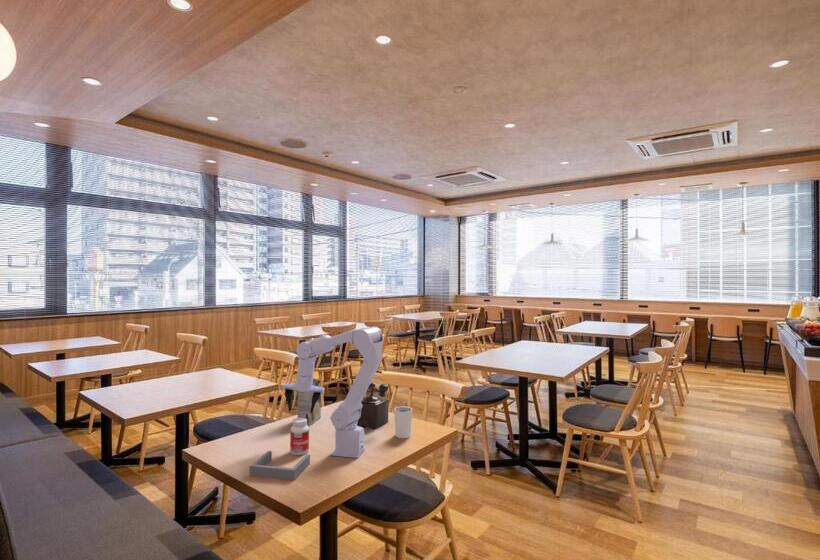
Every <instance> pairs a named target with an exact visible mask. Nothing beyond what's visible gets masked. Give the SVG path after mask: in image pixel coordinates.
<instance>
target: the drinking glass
mask: <svg viewBox="0 0 820 560" xmlns="http://www.w3.org/2000/svg"><path fill="white" fill-rule="evenodd" d="M412 421H413V408H412V407H409V406H406V405H405V406H396V407H395V408H394V427H395V428H394V430H395V431H394V433H395V434H394V435H395V437H396V438H399V439H407V438H408V439H409V438H410V437H412Z"/></svg>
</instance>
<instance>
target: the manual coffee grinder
mask: <svg viewBox="0 0 820 560" xmlns="http://www.w3.org/2000/svg"><path fill="white" fill-rule="evenodd" d="M369 389H370V395H366V396H364V398H363V400H362V402H361V404H362V405H363V407H362V409H361V416H360V418H359V420H358V423H357V426H359V427H363V428H366V429H371V430H373V429H374V430H375V429H379V428H381V427H383V426H384V425H386V424H388V422H389V403H390V402H389V399H385V397H386V396H387V395H386V393H387V392H388V391H389V386H388V385H387V384H386V383H382V384H379V386H378V388H376V387H374V382H371V383H370V385H369ZM374 391H375V392H376V393H378V396H379V397H378V396H377V395H374Z"/></svg>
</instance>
